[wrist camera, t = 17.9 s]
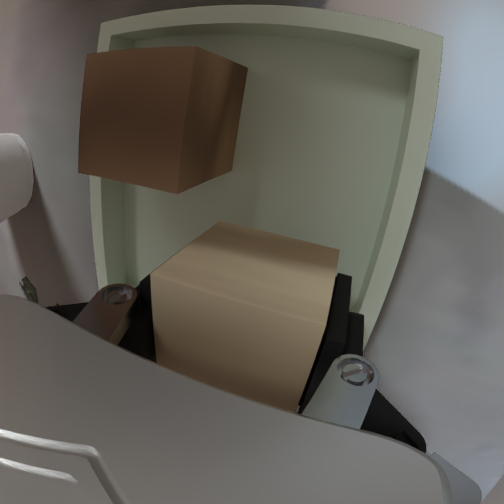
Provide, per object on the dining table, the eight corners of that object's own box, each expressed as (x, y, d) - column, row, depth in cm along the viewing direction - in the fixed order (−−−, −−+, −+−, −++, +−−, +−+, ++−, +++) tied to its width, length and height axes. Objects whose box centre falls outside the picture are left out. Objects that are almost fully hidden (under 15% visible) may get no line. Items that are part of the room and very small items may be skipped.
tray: (134, 30, 13) (101, 22, 10) (427, 51, 9) (443, 36, 7) (126, 282, 19) (100, 302, 17) (351, 351, 16) (347, 386, 14)
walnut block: (156, 64, 12) (87, 54, 8) (248, 67, 11) (196, 46, 7) (146, 155, 14) (78, 172, 10) (231, 170, 13) (177, 194, 9)
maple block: (219, 220, 12) (150, 273, 8) (339, 249, 11) (325, 325, 7) (212, 317, 14) (159, 386, 10) (311, 346, 13) (287, 432, 9)
